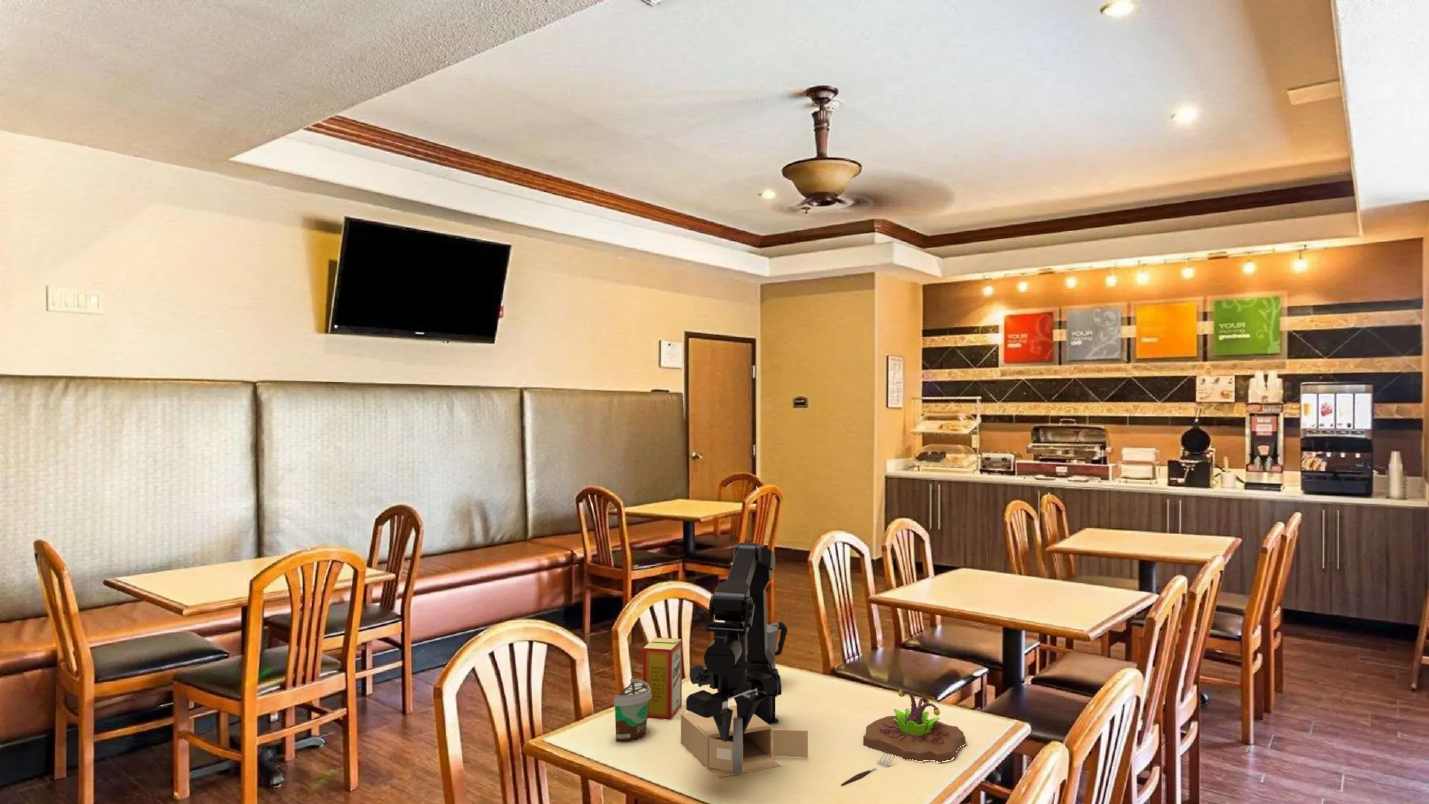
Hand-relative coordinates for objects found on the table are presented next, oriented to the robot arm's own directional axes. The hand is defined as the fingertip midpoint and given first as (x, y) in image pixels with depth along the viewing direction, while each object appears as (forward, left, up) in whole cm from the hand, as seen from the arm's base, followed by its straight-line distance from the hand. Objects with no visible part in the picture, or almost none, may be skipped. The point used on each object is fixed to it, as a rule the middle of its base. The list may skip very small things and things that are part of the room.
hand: (732, 737), depth 159 cm
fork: (-24, +9, -8) cm, 27 cm away
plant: (-42, 0, -8) cm, 42 cm away
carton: (-7, -10, -7) cm, 14 cm away
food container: (+10, -27, -7) cm, 30 cm away
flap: (+1, -2, -7) cm, 7 cm away
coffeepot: (-29, -44, -7) cm, 53 cm away
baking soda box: (0, -38, -7) cm, 39 cm away
